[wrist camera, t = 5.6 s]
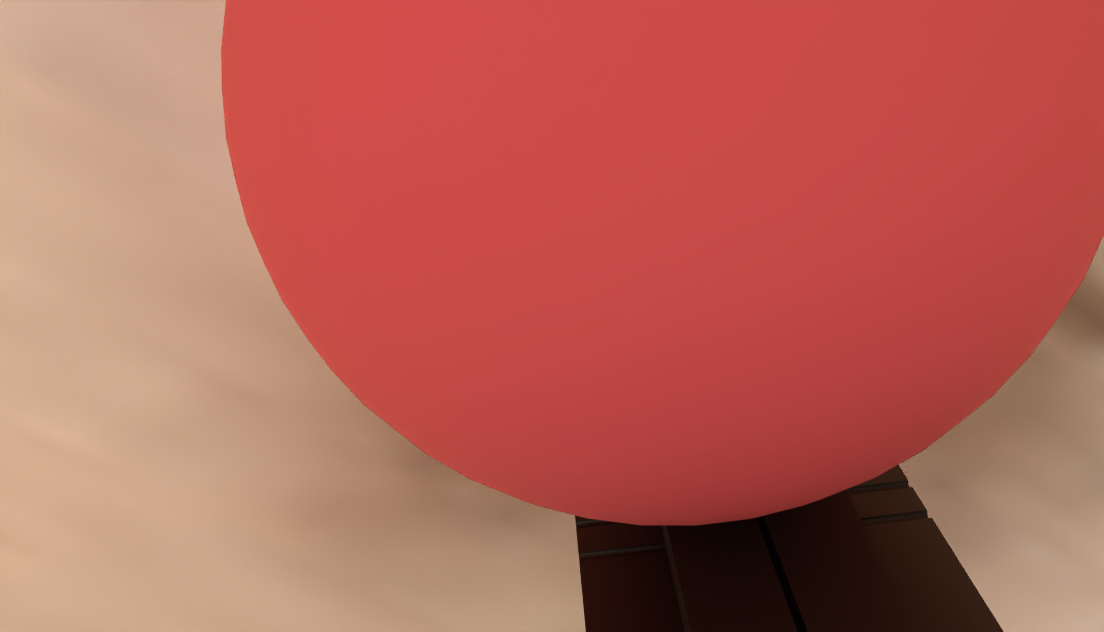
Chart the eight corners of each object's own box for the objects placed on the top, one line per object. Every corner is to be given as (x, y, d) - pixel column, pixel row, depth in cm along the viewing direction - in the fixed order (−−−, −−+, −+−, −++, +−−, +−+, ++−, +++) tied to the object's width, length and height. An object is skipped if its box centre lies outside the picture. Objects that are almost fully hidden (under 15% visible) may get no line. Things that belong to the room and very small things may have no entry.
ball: (950, 110, 10) (1186, -639, 6) (1041, 669, 7) (1818, 55, 2) (427, 112, 11) (233, -527, 7) (299, 607, 8) (-288, 79, 3)
